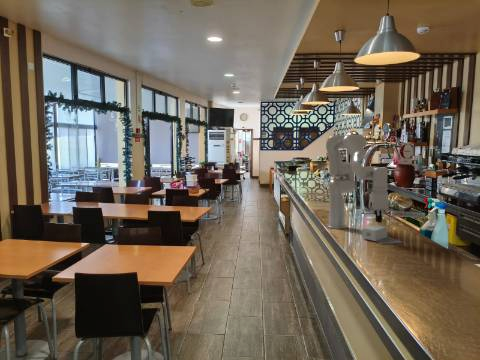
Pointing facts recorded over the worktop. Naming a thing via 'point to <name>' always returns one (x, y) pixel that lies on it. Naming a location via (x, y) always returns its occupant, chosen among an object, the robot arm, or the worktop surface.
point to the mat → (388, 241)
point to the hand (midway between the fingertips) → (378, 222)
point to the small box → (375, 232)
